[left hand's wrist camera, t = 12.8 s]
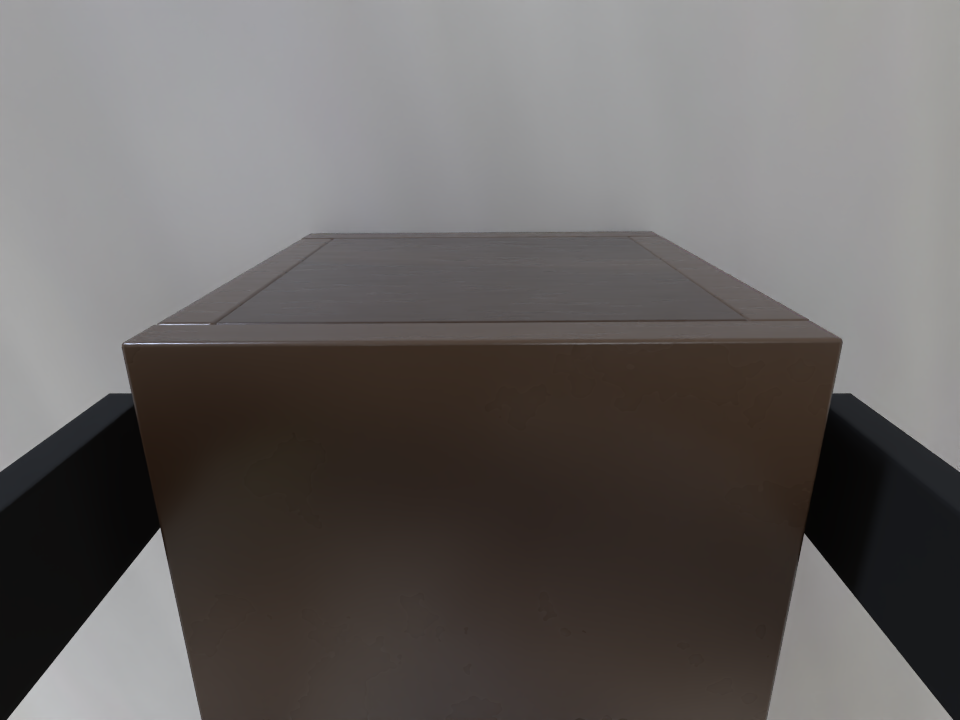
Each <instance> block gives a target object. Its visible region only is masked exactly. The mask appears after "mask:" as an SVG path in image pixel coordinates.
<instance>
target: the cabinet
mask: <svg viewBox="0 0 960 720" xmlns="http://www.w3.org/2000/svg"><path fill="white" fill-rule="evenodd" d="M842 343H843V342H842V339H841V338H840V337H838V336H836V335H834V334H833V333H831V332H829V331H827V330H826V329H824V328H822V327H820V326H818V325H817V324H815V323H813V322H811V321H809V319H807V318H805V317H803V316H802V315H800V314H798V313H796V312H795V311H793V310H791V309H789V308H787V307H786V306H784V305H782V304H780V303H779V302H777V301H775V300H773V299H771V298H770V297H768V296H766V295H764V294H763V293H761V292H759V291H757V290H756V289H754V288H752V287H750V286H748V285H747V284H745V283H743V282H741V281H740V280H738V279H736V278H734V277H732V276H731V275H729V274H727V273H725V272H724V271H722V270H720V269H718V268H717V267H715V266H713V265H711V264H709V263H708V262H706V261H704V260H702V259H701V258H699V257H697V256H695V255H693V254H692V253H690V252H688V251H686V250H685V249H683V248H681V247H679V246H677V245H676V244H674V243H672V242H670V241H669V240H667V239H665V238H663V237H661V236H659V235H657V234H655V233H654V232H506V233H360V234H309V235H307V236H306V237H304V238H302V239H301V240H299V241H297V242H296V243H294V244H292V245H291V246H289V247H287V248H286V249H284V250H282V251H280V252H279V253H277V254H275V255H274V256H272V257H270V258H269V259H267V260H265V261H263V262H262V263H260V264H258V265H257V266H255V267H253V268H252V269H250V270H248V271H246V272H245V273H243V274H241V275H240V276H238V277H236V278H234V279H233V280H231V281H229V282H228V283H226V284H224V285H223V286H221V287H219V288H217V289H216V290H214V291H212V292H211V293H209V294H207V295H206V296H204V297H202V298H200V299H199V300H197V301H195V302H194V303H192V304H190V305H189V306H187V307H185V308H183V309H182V310H180V311H178V312H177V313H175V314H173V315H172V316H170V317H168V318H166V319H165V320H163V321H161V322H160V323H158V324H157V325H153V326H151V327H150V328H148V329H146V330H144V331H143V332H141V333H139V334H138V335H136V336H134V337H132V338H131V339H129V340H127V341H126V342H124V343H123V344H122V350H123V355H124V360H125V364H126V369H127V374H128V378H129V383H130V388H131V392H132V397H133V402H134V406H135V411H136V416H137V420H138V425H139V430H140V434H141V439H142V444H143V448H144V453H145V458H146V462H147V467H148V472H149V476H150V481H151V486H152V490H153V495H154V500H155V504H156V509H157V514H158V518H159V523H160V528H161V532H162V537H163V542H164V546H165V551H166V556H167V560H168V565H169V570H170V574H171V579H172V584H173V588H174V593H175V598H176V602H177V607H178V612H179V616H180V621H181V626H182V630H183V635H184V640H185V644H186V649H187V654H188V658H189V663H190V668H191V673H192V677H193V682H194V687H195V691H196V696H197V701H198V705H199V710H200V715H201V719H202V720H767V715H768V710H769V705H770V700H771V695H772V690H773V685H774V680H775V675H776V670H777V665H778V660H779V655H780V650H781V645H782V640H783V635H784V630H785V625H786V620H787V615H788V611H789V606H790V601H791V596H792V591H793V586H794V581H795V576H796V571H797V566H798V561H799V556H800V551H801V546H802V541H803V536H804V531H805V526H806V521H807V516H808V511H809V506H810V502H811V497H812V492H813V487H814V482H815V477H816V472H817V467H818V462H819V457H820V452H821V447H822V442H823V437H824V432H825V427H826V422H827V417H828V412H829V407H830V402H831V397H832V393H833V388H834V383H835V378H836V373H837V368H838V363H839V358H840V353H841V348H842Z"/></svg>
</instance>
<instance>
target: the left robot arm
mask: <svg viewBox="0 0 960 720" xmlns="http://www.w3.org/2000/svg"><path fill="white" fill-rule="evenodd" d="M159 528H160V523H159V518H158V514H157V509H156V504H155V500H154V495H153V490H152V486H151V481H150V476H149V472H148V467H147V462H146V458H145V453H144V448H143V444H142V439H141V434H140V430H139V425H138V420H137V416H136V411H135V406H134V402H133V397H132V394H108V395H107V396H105V397H104V398H103V399H101V400H100V401H98V402H97V403H96V404H94V405H93V406H91V407H90V408H89V409H87V410H86V411H85V412H83V413H82V414H80V415H79V416H78V417H76V418H75V419H73V420H72V421H71V422H69V423H68V424H66V425H65V426H64V427H62V428H61V429H60V430H58V431H57V432H55V433H54V434H53V435H51V436H50V437H48V438H47V439H46V440H44V441H43V442H41V443H40V444H39V445H37V446H36V447H35V448H33V449H32V450H30V451H29V452H28V453H26V454H25V455H23V456H22V457H21V458H19V459H18V460H17V461H15V462H14V463H12V464H11V465H10V466H8V467H7V468H5V469H4V470H3V471H1V472H0V720H7V719H8V717H9V716H10V715H11V714H12V712H13V711H14V710H15V709H16V707H17V706H18V705H19V704H20V702H21V701H22V700H23V699H24V697H25V696H26V695H27V694H28V692H29V691H30V690H31V689H32V687H33V686H34V685H35V684H36V682H37V681H38V680H39V679H40V677H41V676H42V675H43V674H44V672H45V671H46V670H47V669H48V667H49V666H50V665H51V664H52V662H53V661H54V660H55V659H56V657H57V656H58V655H59V654H60V652H61V651H62V650H63V649H64V647H65V646H66V645H67V644H68V642H69V641H70V640H71V639H72V637H73V636H74V635H75V634H76V632H77V631H78V630H79V628H80V627H81V626H82V625H83V623H84V622H85V621H86V620H87V618H88V617H89V616H90V615H91V613H92V612H93V611H94V610H95V608H96V607H97V606H98V605H99V603H100V602H101V601H102V600H103V598H104V597H105V596H106V595H107V593H108V592H109V591H110V590H111V588H112V587H113V586H114V585H115V583H116V582H117V581H118V580H119V578H120V577H121V576H122V575H123V573H124V572H125V571H126V570H127V568H128V567H129V566H130V565H131V563H132V562H133V561H134V560H135V558H136V557H137V556H138V555H139V553H140V552H141V551H142V550H143V548H144V547H145V546H146V545H147V543H148V542H149V541H150V540H151V538H152V537H153V536H154V535H155V533H156V532H157V531H158V530H159ZM804 533H805V535H806V536H807V537H808V538H809V540H810V541H811V542H812V543H813V545H814V546H815V547H816V548H817V550H818V551H819V552H820V553H821V555H822V556H823V557H824V558H825V560H826V561H827V562H828V563H829V565H830V566H831V567H832V568H833V570H834V571H835V572H836V573H837V575H838V576H839V577H840V578H841V580H842V581H843V582H844V583H845V585H846V586H847V587H848V588H849V590H850V591H851V592H852V593H853V595H854V596H855V597H856V598H857V600H858V601H859V602H860V603H861V605H862V606H863V607H864V608H865V610H866V611H867V612H868V613H869V615H870V616H871V617H872V618H873V620H874V621H875V622H876V623H877V625H878V626H879V627H880V628H881V630H882V631H883V632H884V634H885V635H886V636H887V637H888V639H889V640H890V641H891V642H892V644H893V645H894V646H895V647H896V649H897V650H898V651H899V652H900V654H901V655H902V656H903V657H904V659H905V660H906V661H907V662H908V664H909V665H910V666H911V667H912V669H913V670H914V671H915V672H916V674H917V675H918V676H919V677H920V679H921V680H922V681H923V682H924V684H925V685H926V686H927V687H928V689H929V690H930V691H931V692H932V694H933V695H934V696H935V697H936V699H937V700H938V701H939V702H940V704H941V705H942V706H943V707H944V709H945V710H946V711H947V712H948V714H949V715H950V716H951V717H952V719H953V720H960V472H959V471H957V470H956V469H955V468H953V467H952V466H950V465H949V464H948V463H946V462H945V461H943V460H942V459H941V458H939V457H938V456H937V455H935V454H934V453H932V452H931V451H930V450H928V449H927V448H925V447H924V446H923V445H921V444H920V443H919V442H917V441H916V440H914V439H913V438H912V437H910V436H909V435H907V434H906V433H905V432H903V431H902V430H900V429H899V428H898V427H896V426H895V425H894V424H892V423H891V422H889V421H888V420H887V419H885V418H884V417H882V416H881V415H880V414H878V413H877V412H875V411H874V410H873V409H871V408H870V407H869V406H867V405H866V404H864V403H863V402H862V401H860V400H859V399H857V398H856V397H855V396H853V395H852V394H832V397H831V402H830V407H829V412H828V417H827V422H826V427H825V432H824V437H823V442H822V447H821V452H820V457H819V462H818V467H817V472H816V477H815V482H814V487H813V492H812V497H811V502H810V506H809V511H808V516H807V521H806V526H805V531H804Z"/></svg>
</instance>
